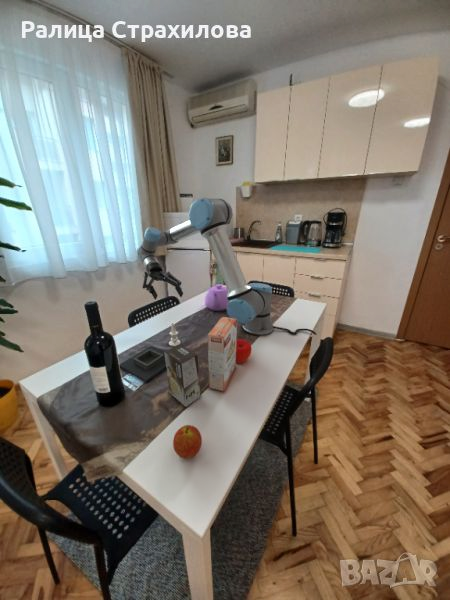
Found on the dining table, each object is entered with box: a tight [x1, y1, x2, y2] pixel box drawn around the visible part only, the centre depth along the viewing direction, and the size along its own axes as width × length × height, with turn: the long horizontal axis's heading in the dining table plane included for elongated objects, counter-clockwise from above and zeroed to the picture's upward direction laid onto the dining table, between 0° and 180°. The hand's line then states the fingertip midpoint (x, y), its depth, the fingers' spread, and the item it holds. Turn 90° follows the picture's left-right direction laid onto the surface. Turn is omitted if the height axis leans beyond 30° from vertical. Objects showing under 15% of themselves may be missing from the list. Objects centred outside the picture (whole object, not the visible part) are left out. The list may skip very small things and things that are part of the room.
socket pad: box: [118, 345, 167, 383], centre depth 93 cm, size 16×16×3 cm
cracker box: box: [207, 316, 238, 392], centre depth 82 cm, size 14×6×21 cm, turn 161°
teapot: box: [204, 283, 229, 312], centre depth 143 cm, size 25×18×14 cm
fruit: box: [172, 424, 203, 459], centre depth 58 cm, size 7×7×8 cm
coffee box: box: [164, 343, 201, 408], centre depth 75 cm, size 9×6×16 cm
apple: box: [236, 338, 253, 364], centre depth 94 cm, size 9×9×8 cm
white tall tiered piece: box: [168, 322, 182, 347], centre depth 105 cm, size 5×5×10 cm
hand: (169, 296), depth 113 cm, fingers open, 13 cm apart
